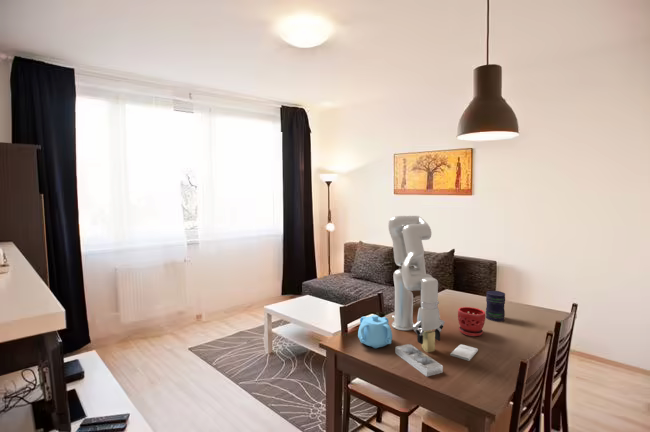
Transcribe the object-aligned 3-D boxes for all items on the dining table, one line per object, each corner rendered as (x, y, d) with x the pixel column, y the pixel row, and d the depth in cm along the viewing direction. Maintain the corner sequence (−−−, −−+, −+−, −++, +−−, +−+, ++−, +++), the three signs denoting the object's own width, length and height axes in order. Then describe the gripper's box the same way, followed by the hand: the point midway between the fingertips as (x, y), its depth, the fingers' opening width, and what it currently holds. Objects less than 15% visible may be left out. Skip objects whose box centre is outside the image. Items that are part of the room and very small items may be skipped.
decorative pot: (355, 349, 167) (356, 320, 166) (359, 335, 183) (359, 309, 182) (391, 352, 164) (391, 323, 163) (392, 337, 179) (392, 311, 178)
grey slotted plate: (395, 353, 162) (395, 346, 162) (409, 350, 165) (410, 343, 165) (426, 376, 142) (426, 369, 142) (442, 372, 145) (442, 365, 145)
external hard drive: (450, 356, 160) (460, 346, 170) (469, 362, 155) (478, 351, 165) (450, 353, 160) (460, 343, 170) (469, 358, 155) (478, 348, 164)
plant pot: (487, 339, 177) (488, 315, 176) (459, 336, 180) (460, 313, 179) (481, 328, 190) (482, 306, 189) (455, 327, 193) (456, 305, 192)
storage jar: (507, 321, 200) (508, 295, 199) (490, 321, 200) (491, 295, 199) (499, 315, 210) (500, 290, 209) (482, 315, 210) (483, 290, 209)
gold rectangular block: (421, 348, 167) (421, 330, 166) (428, 347, 169) (429, 328, 168) (427, 352, 163) (427, 333, 162) (434, 350, 165) (435, 331, 164)
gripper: (438, 300, 171) (438, 335, 172) (408, 305, 164) (408, 341, 165) (449, 304, 164) (449, 341, 165) (418, 309, 157) (418, 347, 158)
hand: (428, 341), depth 165 cm, fingers open, 9 cm apart
